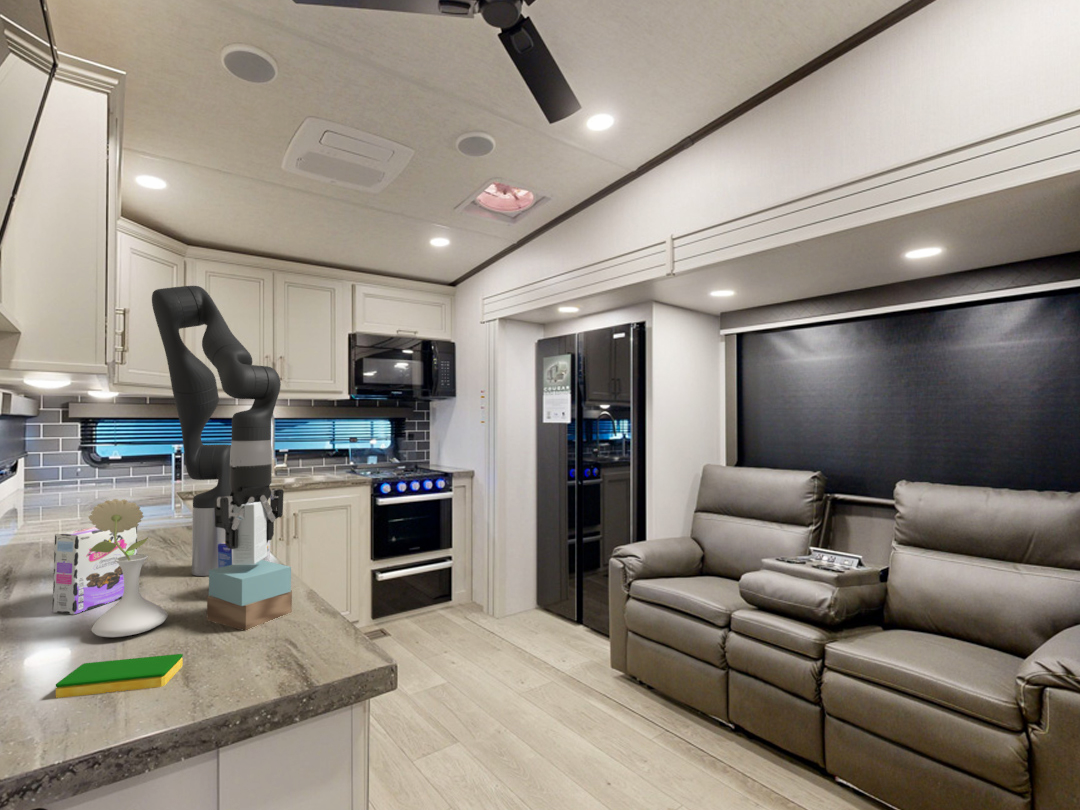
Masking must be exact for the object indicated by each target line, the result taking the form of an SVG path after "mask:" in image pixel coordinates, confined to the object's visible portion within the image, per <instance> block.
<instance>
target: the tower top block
mask: <svg viewBox="0 0 1080 810" xmlns="http://www.w3.org/2000/svg"><path fill="white" fill-rule="evenodd" d="M291 590H292V566H288V565H285V564H280V563H277V562H273V561H270V562H269V561H265V560H260V561H259V562H257V563H255V564H252V565H234V564H233V565H229V566H225V567H220V568H216V569H212V570H209V576H208V596H213V597H216V598H219V599H222V600H225V601H228V602H231V603H234V604H237V605H240V606H244V605H247V604H251V603H254V602H257V601H261V600H264V599H267V598H271V597H274V596H277V595H281V594H284V593H288V592H291Z"/></svg>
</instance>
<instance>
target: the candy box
mask: <svg viewBox="0 0 1080 810" xmlns="http://www.w3.org/2000/svg"><path fill="white" fill-rule="evenodd" d="M116 540H117V542H118V544H119V545H120V547H121V548H122V549H123V550H124V551H126V550H127V549H128V548H129V547H130V546H131V545H132V544H134V543H136V542H138V526H137V527H134V528H131V529H130V530H124V532H119V533H116ZM102 541H106V542H111V543H115V541H114V533H111V532H110V530H108V531H102V530H99V529H97V528H96V527H95V526H91V527H86V528H81V529H77V530H72V531H66V532H60V533H54V550H53V551H54V553H53V555H54V556H53V557H54V559H53V560H54V561H53V585H52V586H53V587H52V589H53V590H52V613H58V614H66V615H77V614H79V613H82V611H83V612H86V611H89V610H92V609H94V607H95V608H97V606H98V607H100V605H101V606H103V605H102V604H104V605H107V604H109V603H108V602H110V603H113V602H115V600H116V601H118V599H119V600H121V598H122V596H123V593H124V577H123V572H122V569H121V567H120V565H119V564H118V563H117V562H116V561H115V559H117V558H120V557H123V556H125V555H124V553H123V552H122V551H121V550H120V549H119V548H118V546H117V545H116V547H115V548H114V549H113V550H112V551H111V552H93V551H90V550H91V549H92V548H93V547H94V546H95V545H96V544H98V543H100V542H102ZM126 553H127V555H137V554H138V548H136V549H134V550H131V551H127V552H126ZM112 601H113V602H112ZM106 603H107V604H106ZM91 608H92V609H91ZM88 609H89V610H88ZM85 610H86V611H85Z"/></svg>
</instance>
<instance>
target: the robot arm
mask: <svg viewBox="0 0 1080 810" xmlns="http://www.w3.org/2000/svg"><path fill="white" fill-rule="evenodd" d="M151 306H152V309H153V310H152V311H153V314H154V318H155V321H156V325H157V328H158V331H159V335H160V339H161V341H162V345H163V348H164V351H165V356H166V357H165V358H166V360H167V361H166V362H167V367H168V372H169V377H170V384H171V390H172V395H173V400H174V403H175V407H176V411H177V415H178V420H179V425H180V430H181V436H182V446H183V453H184V454H183V455H184V456H183V457H184V463H185V469H186V472H187V475H188V477H189V478H191V479H192V480H194V481H205V480H206V481H207V480H208V481H209V480H210V481H211V480H213V481H214V480H216V481H217V485H215V486H214V487H213V488H212V489H210V490H206V491H205V492H201V493H197V494H196V495H194V496H193V498H192V527H191V529H192V530H191V533H192V534H191V535H192V537H191V539H192V540H191V541H192V542H191V544H192V545H191V553H192V554H191V575H192V576H195V577H196V576H197V577H198V576H199V577H205V576H206V577H207V576H208V577H209V570H212V569H216V568H218V544H220V543H224V542H225V544H226V546H227V547H228V548H229V549H236V548H238V530H237V527H238V525H239V523H240V521H241V520H242V519H244V517H245V506H243V507H242V508H241V510H240V512H239V513H234V514H233V505H234V504H236V505H237V507H240V506H241V505H242V504H245V505H246V504H251V503H253V502H261V503H262V506H263V508H264V511H265V514H266V516H267V541H268V540H270V541H272V540H273V537H274V531H275V525H274V524H275V521H276V520H277V519H278V518H282V516H283V514H284V494H285V493H284V490H283V489H282V488H272V489H271V488H270V485H271V484H272V478H273V477H272V475H273V473H272V472H273V471H272V469H273V468H272V466H273V463H272V462H273V461H272V460H273V457H272V456H273V451H272V444H271V442H272V441H271V439H272V436H271V434H272V433H271V429H272V428H271V427H272V424H271V423H272V418H273V415H274V411H275V409H276V408H275V406H276V404H277V400H278V399H279V395H280V391H281V383H282V382H281V378H280V376H279V373H278V372H277V370H276V369H274V368H273V367H272V366H267V365H256V364H253V357H252V354H251V353H250V352H249V350H248V349H247V348H246V347H245V346H244V345H243V344H242V342H241V341H240V340H239V339H238V338H237V337H236V336H235V334H233V332H232V331H231V329H230V328H229V326H228V324H227V322H226V321H225V318H224V316H223V314H222V313H221V311H220V310H219V308H218V307H217V305H216V303H215V302H214V300H213V299H212V297H211V295H210V294H209V293H208V292H207V291H206V289H204V288H203V287H201V286H199V285H185V286H184V285H183V286H175V287H174V286H173V287H166V288H156V289H155V290H154V291H153V292H152V295H151ZM203 325H205V326H206V328H205V331H204V334H203V337H202V340H201V346H202V352H203V354H204V355H205V357H206V358H207V359H208V361H209V362H210V363H211V364H212V365H213V367H214V368H215V369H216V371H217V374H218V378H219V380H220V384H221V389H222V390H223V392H224V393H225V394H226V395H227V396H229V397H231V398H233V399H238V400H254V401H253V403H252V405H251V406H250V408H249V409H246V410H241V411H238V412H235V413H234V414H233V416H232V417H231V442H230V444H223V443H222V444H203V442H202V433H203V431H204V428H205V427H206V425H207V423H208V421H209V420H210V418H211V417H212V415H213V414H214V412H215V411H216V409H217V408H218V404H219V403H220V402H219V401H220V400H219V399H220V398H219V391H218V385H217V380H216V376H215V374H214V372H213V371H212V369H210V368H209V367H208V365H206V364H205V363H204V362H203V361H202V360H200V359H199V358H198V357H197V356H196V355H195V354H194V353H193V352H192V351H191V350H190V349H189V348H188V347H187V345H185V343H184V341H183V340H182V337H181V335H180V329H186V328H193V327H200V326H203ZM269 500H270V503H269V502H268V501H269ZM243 512H244V513H243ZM233 517H235V518H234V520H233Z"/></svg>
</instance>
